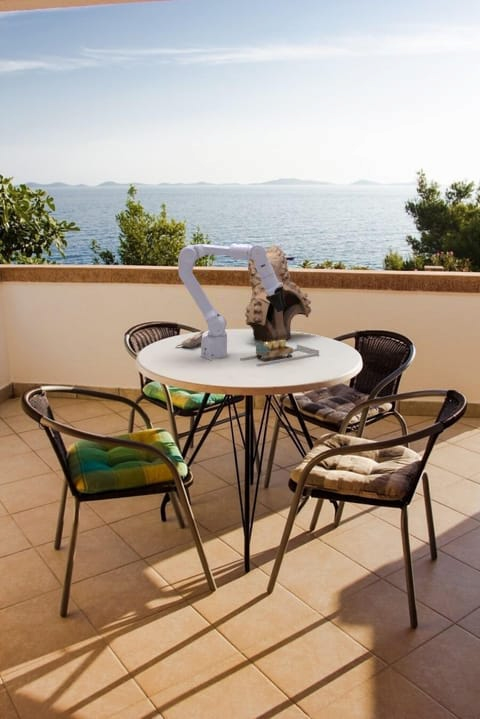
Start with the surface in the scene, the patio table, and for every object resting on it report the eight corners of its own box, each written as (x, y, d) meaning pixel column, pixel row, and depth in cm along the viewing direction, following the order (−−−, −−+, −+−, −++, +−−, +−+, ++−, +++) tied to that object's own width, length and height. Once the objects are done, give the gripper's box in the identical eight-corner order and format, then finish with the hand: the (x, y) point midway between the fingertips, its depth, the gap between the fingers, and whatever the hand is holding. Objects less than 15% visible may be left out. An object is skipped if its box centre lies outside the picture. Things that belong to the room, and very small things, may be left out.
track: (258, 368, 238) (258, 360, 237) (239, 361, 248) (239, 353, 247) (318, 357, 254) (318, 349, 254) (298, 351, 264) (298, 344, 263)
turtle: (196, 358, 266) (205, 335, 263) (174, 350, 265) (182, 327, 262) (198, 348, 281) (206, 326, 278) (177, 340, 280) (185, 319, 277)
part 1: (266, 354, 245) (266, 343, 244) (261, 352, 247) (261, 341, 246) (273, 352, 247) (273, 342, 246) (268, 351, 249) (268, 340, 248)
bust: (287, 330, 304) (289, 242, 294) (315, 336, 291) (318, 244, 281) (229, 340, 282) (229, 245, 272) (256, 348, 269) (257, 248, 259)
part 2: (273, 352, 247) (274, 342, 246) (269, 351, 249) (269, 340, 248) (280, 351, 248) (280, 341, 247) (275, 350, 251) (275, 339, 250)
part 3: (281, 351, 249) (281, 341, 248) (276, 350, 251) (276, 339, 250) (287, 350, 250) (287, 340, 249) (282, 349, 253) (282, 338, 252)
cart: (268, 363, 243) (268, 347, 241) (254, 358, 249) (254, 343, 248) (293, 358, 249) (294, 343, 248) (279, 354, 256) (279, 339, 255)
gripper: (275, 275, 237) (289, 309, 240) (279, 268, 251) (293, 300, 254) (257, 282, 239) (271, 316, 242) (262, 275, 253) (276, 307, 256)
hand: (281, 308), depth 248 cm, fingers open, 7 cm apart
